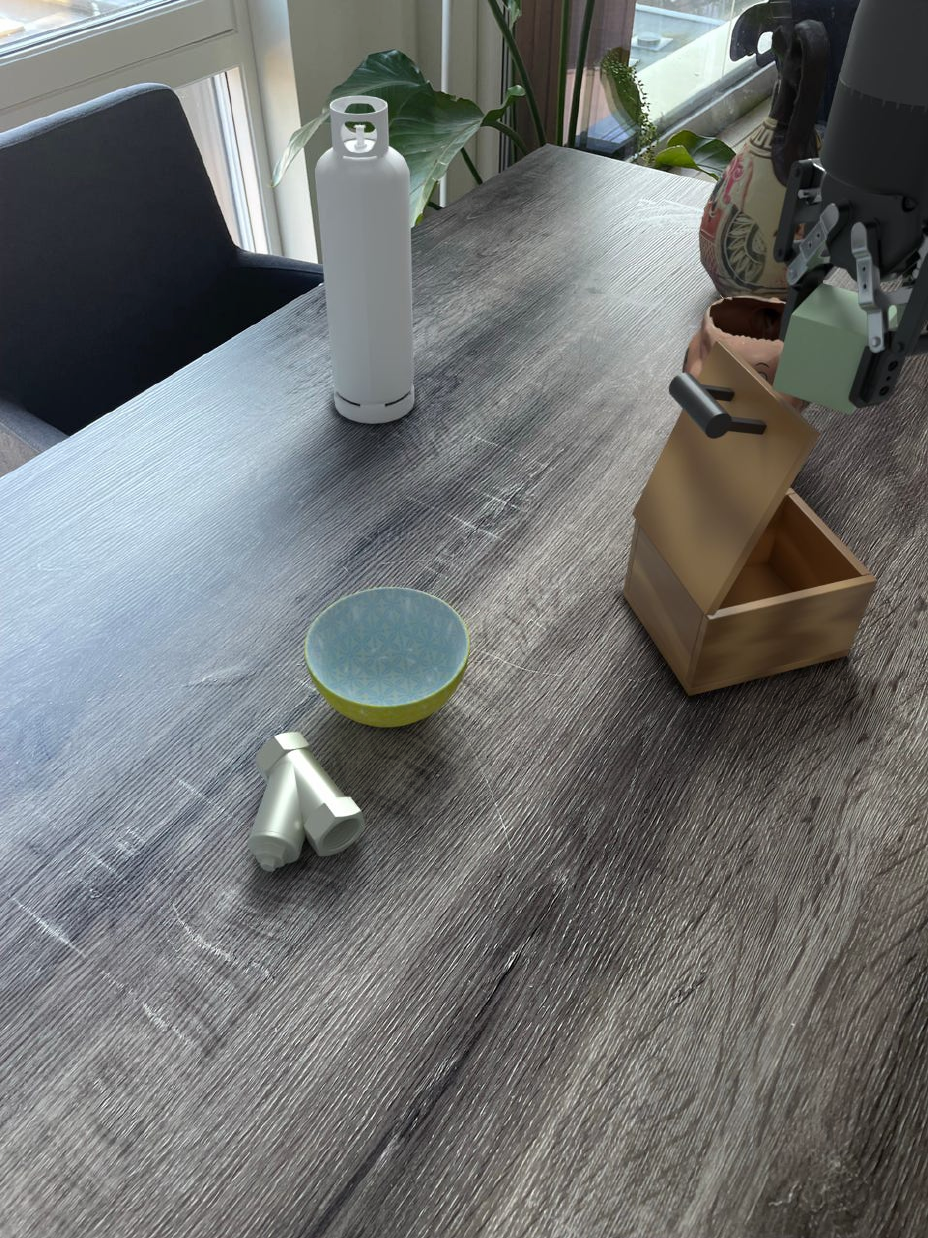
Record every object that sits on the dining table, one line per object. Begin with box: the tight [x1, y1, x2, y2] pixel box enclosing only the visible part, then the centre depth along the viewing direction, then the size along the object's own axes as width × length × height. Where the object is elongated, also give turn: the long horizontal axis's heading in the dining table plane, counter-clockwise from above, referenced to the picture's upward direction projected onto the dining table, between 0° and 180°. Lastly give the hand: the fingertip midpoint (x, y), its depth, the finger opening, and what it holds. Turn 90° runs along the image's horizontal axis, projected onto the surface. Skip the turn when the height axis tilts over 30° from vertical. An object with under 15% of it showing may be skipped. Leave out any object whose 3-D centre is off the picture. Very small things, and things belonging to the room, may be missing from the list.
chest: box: [622, 487, 879, 697], centre depth 76 cm, size 14×12×8 cm
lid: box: [631, 340, 822, 616], centre depth 66 cm, size 14×12×5 cm
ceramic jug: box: [698, 19, 831, 302], centre depth 107 cm, size 17×15×30 cm
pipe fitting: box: [246, 731, 366, 872], centre depth 64 cm, size 8×4×7 cm
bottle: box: [314, 95, 415, 425], centre depth 92 cm, size 8×8×28 cm
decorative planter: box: [681, 296, 812, 415], centre depth 92 cm, size 20×12×14 cm, turn 162°
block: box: [772, 282, 897, 416], centre depth 60 cm, size 5×5×5 cm
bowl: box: [303, 586, 471, 728], centre depth 70 cm, size 11×12×6 cm
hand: (828, 370), depth 61 cm, fingers closed on block, 7 cm apart
